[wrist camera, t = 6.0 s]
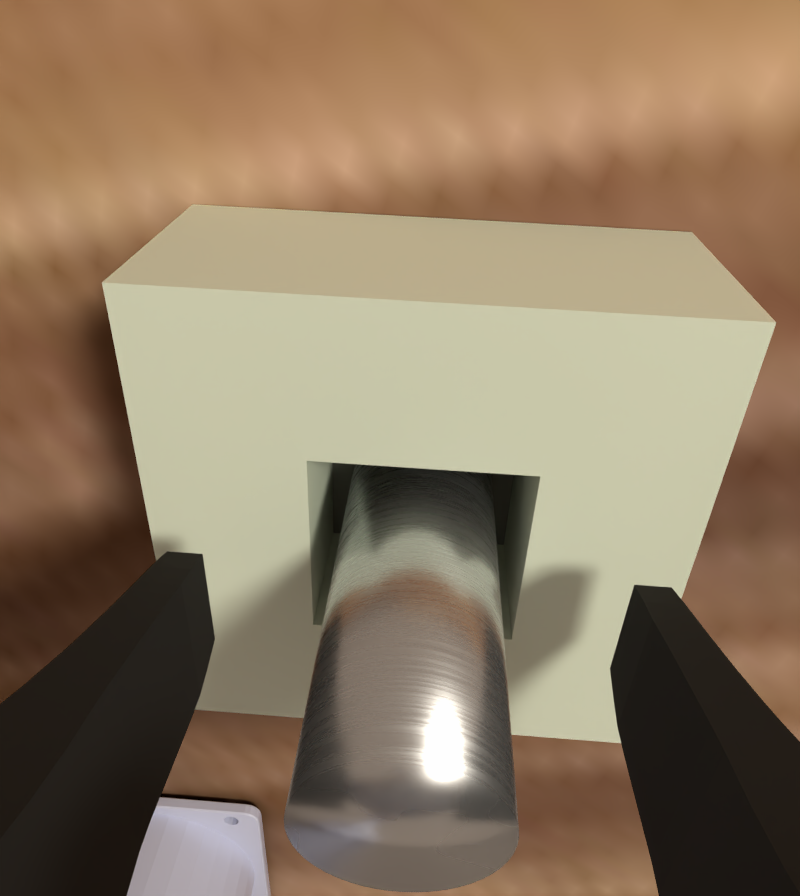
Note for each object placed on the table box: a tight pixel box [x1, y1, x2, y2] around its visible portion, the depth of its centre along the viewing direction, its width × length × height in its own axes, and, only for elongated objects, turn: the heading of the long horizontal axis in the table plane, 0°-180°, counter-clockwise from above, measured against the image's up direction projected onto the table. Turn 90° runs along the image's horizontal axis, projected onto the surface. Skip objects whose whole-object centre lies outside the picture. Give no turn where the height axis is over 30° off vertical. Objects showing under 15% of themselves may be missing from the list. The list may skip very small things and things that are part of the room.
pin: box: [284, 464, 519, 892], centre depth 13 cm, size 3×3×8 cm
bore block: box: [102, 204, 776, 743], centre depth 15 cm, size 10×10×4 cm
